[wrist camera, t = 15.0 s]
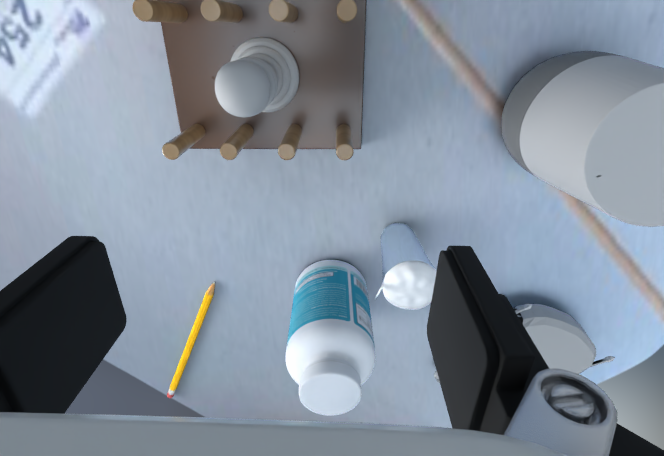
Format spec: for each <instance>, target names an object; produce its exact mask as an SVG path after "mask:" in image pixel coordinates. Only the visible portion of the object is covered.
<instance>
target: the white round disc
mask: <svg viewBox="0 0 664 456" xmlns="http://www.w3.org/2000/svg"><path fill="white" fill-rule="evenodd" d="M513 309H514V311H515V312H516V314H517V316H518V317H519V319H520V321H521V322H522V324H523V326H524V327H525V329H526V331H527V332H528V334H529V336H530V337H531V339H532V341H533V342H534V344H535V346H536V347H537V349H538V350H539V352H540V354H541V355H542V357H543V359H544V360H545V362H546V364H547V365H548V367H549V369H554V368H558V369H563V370H568V371H571V372H574V373H577V374H579V373H581V372H583V371H584V370H586V369H587V368H589V367H591V366H595V365H598V364H601V363H604V362H610V361H613V359H614V358H615V357H612V356H608V357H605V358H604V359H601V360H598V361H595V362H593V361H594V359H595V357H596V348H595V346H594V344H593V343H592V341H591V340H590V338H589V337H588V335H587V334H586V332H585V331H584V330H583V328H582V327H581V325H580V324H579V323H578V322H576V321H575V320H574V319H573V318H572V317H571V316H570V315H569V314H566V313H564V312H562V311H559V310H557V309H555V308H552V307H549V306H545V305H541V304H525V305H518V306H516V307H515V308H513ZM434 377H435V378H436V379H437V381H438V382H439V383H440V381H439V377H438V373H437V371H435V373H434Z"/></svg>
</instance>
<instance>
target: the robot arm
mask: <svg viewBox="0 0 664 456" xmlns="http://www.w3.org/2000/svg"><path fill="white" fill-rule="evenodd" d="M125 326H126V314H125V311H124V308H123V304H122V301H121V298H120V294H119V291H118V288H117V285H116V281H115V278H114V275H113V271H112V268H111V265H110V261H109V258H108V255H107V251H106V248H105V245H104V244H103V243H102V242H99V240H98V239H97V238H96V237H94V236H71V237H69V238H67V239H66V240H65V241H63V242H62V243H61V244H60V245H58V246H57V247H56V248H54V249H53V250H52V251H51V252H49V253H48V254H47V255H46V256H44V257H43V258H42V259H40V260H39V261H38V262H37V263H35V264H34V265H33V266H32V267H30V268H29V269H28V270H26V271H25V272H24V273H23V274H21V275H20V276H19V277H17V278H16V279H15V280H14V281H12V282H11V283H10V284H9V285H7V286H6V287H5V288H3V289H2V290H1V291H0V456H664V450H662V449H660V448H658V447H657V446H655V445H653V444H652V443H650V442H648V441H646V440H645V439H643V438H641V437H640V436H638V435H636V434H634V433H633V432H631V431H629V430H627V429H626V428H624V427H622V426H620V425H619V424H617V410H616V408H615V406H614V404H613V402H612V400H611V399H610V398H609V397H608V395H607V394H606V393H605V392H604V391H603V390H602V389H601V388H600V387H598V386H597V385H596V384H595V383H594V382H592V381H590V380H589V379H587V378H585V377H583V376H582V375H579V374H577V373H574V372H571V371H568V370H563V369H558V368H554V369H549V367H548V365H547V364H546V362H545V360H544V359H543V357H542V355H541V354H540V352H539V350H538V349H537V347H536V346H535V344H534V342H533V341H532V339H531V337H530V336H529V334H528V332H527V331H526V329H525V327H524V326H523V324H522V322H521V321H520V319H519V317H518V316H517V314H516V312H515V311H514V309H513V307H512V306H511V304H510V302H509V301H508V299H507V298H506V297H505V295H502V294H498V292H497V290H496V289H495V287H494V285H493V284H492V282H491V280H490V278H489V277H488V275H487V273H486V271H485V270H484V268H483V266H482V265H481V263H480V261H479V259H478V258H477V256H476V254H475V253H474V251H473V249H472V248H471V247H470V246H448V248H447V251H441V252H440V255H439V261H438V266H437V272H436V278H435V284H434V289H433V295H432V301H431V307H430V312H429V318H428V324H427V336H428V341H429V344H430V348H431V351H432V355H433V359H434V362H435V366H436V370H437V373H438V377H439V381H440V384H441V388H442V391H443V395H444V399H445V402H446V406H447V410H448V413H449V417H450V421H451V424H452V428H442V427H427V426H409V425H390V424H371V423H346V422H318V421H291V420H263V419H233V418H200V417H167V416H134V415H96V414H64V413H65V412H66V410H67V409H68V408H69V406H70V405H71V403H72V402H73V401H74V399H75V398H76V396H77V395H78V393H79V392H80V391H81V389H82V388H83V386H84V385H85V384H86V382H87V381H88V379H89V378H90V376H91V375H92V374H93V372H94V371H95V370H96V368H97V367H98V365H99V364H100V362H101V361H102V360H103V358H104V357H105V355H106V354H107V353H108V351H109V350H110V348H111V347H112V346H113V344H114V343H115V341H116V340H117V339H118V337H119V336H120V334H121V333H122V332H123V330H124V328H125Z"/></svg>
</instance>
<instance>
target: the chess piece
mask: <svg viewBox="0 0 664 456" xmlns="http://www.w3.org/2000/svg"><path fill="white" fill-rule="evenodd" d="M298 85H299V70H298V66H297V63H296V61H295V59H294V57H293V55H292V54H291V52H290V51H289V50H288V49H287V48H286V47H285V46H284V45H282V44H281V43H280V42H278V41H276V40H273V39H270V38H265V37H257V38H252V39H250V40H247V41H245V42H244V43H242V44H241V45H240V46H239V47H238V48H237V49H236V51H235V52H234V54H233V56H232V58H231V61H230V62H229V63H227V64H225V65H224V66H222V67H221V69H220V70H219V71H218V73H217V76H216V79H215V93H216V97H217V99H218V101H219V103H220V105H221V106H222V108H223V109H224V110H225V111H227V112H228V113H230V114H232V115H234V116H237V117H251V116H255V115H257V114H259V113H261V112H274V111H277V110H280V109H282V108H284V107H285V106H286V105H288V104H289V103H290V102H291V101H292V99H293V98H294V96H295V94H296V92H297V89H298Z"/></svg>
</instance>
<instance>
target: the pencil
mask: <svg viewBox="0 0 664 456" xmlns="http://www.w3.org/2000/svg"><path fill="white" fill-rule="evenodd" d="M214 288H215V281H214V282H213V284H212V285H211V286H210V288H209V289H208V290H207V292H206V294H205V297H204V299H203V302H202V305H201V307H200V310H199V313H198V315H197V318H196V320H195V323H194V326H193V328H192V331H191V333H190V336H189V339H188V341H187V344H186V346H185V349H184V352H183V354H182V357H181V360H180V362H179V365H178V367H177V370H176V373H175V375H174V378H173V380H172V383H171V386H170V388H169V391H168V393H167V397H168V398H172V397H173V396H174V394H175V391H176V389H177V386H178V384H179V381H180V378H181V376H182V373H183V371H184V368H185V366H186V363H187V361H188V358H189V356H190V353H191V351H192V348H193V346H194V343H195V341H196V338H197V336H198V333H199V330H200V328H201V325H202V323H203V320H204V318H205V315H206V313H207V310H208V308H209V305H210V303H211V300H212V298H213V295H214Z"/></svg>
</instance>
